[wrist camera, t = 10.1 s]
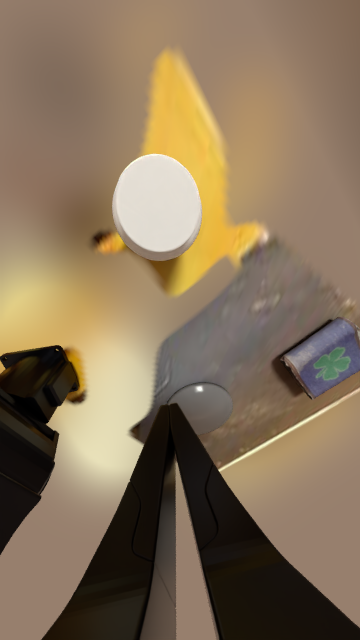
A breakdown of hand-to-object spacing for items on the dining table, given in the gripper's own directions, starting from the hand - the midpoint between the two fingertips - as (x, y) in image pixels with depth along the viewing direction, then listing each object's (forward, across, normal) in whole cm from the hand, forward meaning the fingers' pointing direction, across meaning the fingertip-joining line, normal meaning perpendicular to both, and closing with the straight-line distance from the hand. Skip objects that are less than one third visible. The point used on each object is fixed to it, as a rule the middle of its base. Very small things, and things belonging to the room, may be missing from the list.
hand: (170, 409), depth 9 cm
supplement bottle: (+13, -1, -9) cm, 16 cm away
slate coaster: (+13, -3, +16) cm, 21 cm away
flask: (+12, -16, +12) cm, 23 cm away
